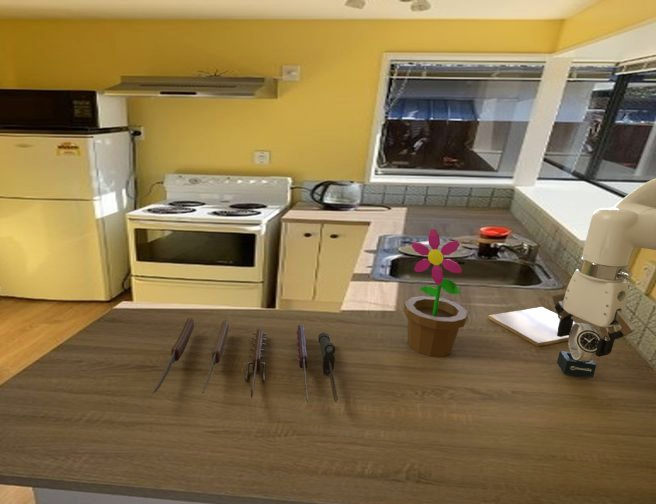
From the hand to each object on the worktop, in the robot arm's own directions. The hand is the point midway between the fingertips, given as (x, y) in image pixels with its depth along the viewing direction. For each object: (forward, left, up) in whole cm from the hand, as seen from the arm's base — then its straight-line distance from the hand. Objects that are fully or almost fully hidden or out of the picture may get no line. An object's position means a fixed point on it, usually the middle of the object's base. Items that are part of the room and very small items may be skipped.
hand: (581, 344), depth 92 cm
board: (-12, -19, -7) cm, 24 cm away
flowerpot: (+24, -19, -7) cm, 31 cm away
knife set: (+69, -20, -7) cm, 72 cm away
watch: (0, 0, -7) cm, 7 cm away
